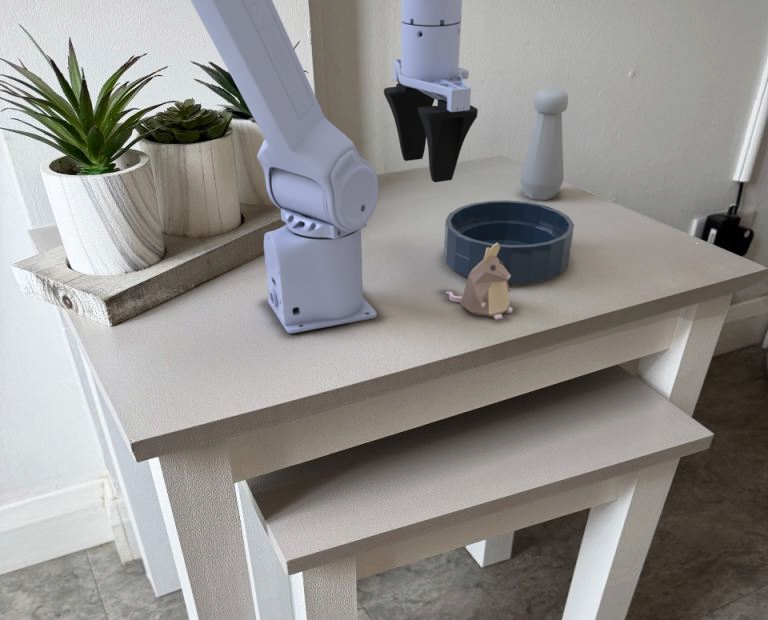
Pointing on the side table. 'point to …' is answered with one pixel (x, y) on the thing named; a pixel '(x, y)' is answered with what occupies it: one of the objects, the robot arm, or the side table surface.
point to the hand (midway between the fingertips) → (426, 169)
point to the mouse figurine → (487, 287)
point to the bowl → (510, 238)
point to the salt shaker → (545, 146)
